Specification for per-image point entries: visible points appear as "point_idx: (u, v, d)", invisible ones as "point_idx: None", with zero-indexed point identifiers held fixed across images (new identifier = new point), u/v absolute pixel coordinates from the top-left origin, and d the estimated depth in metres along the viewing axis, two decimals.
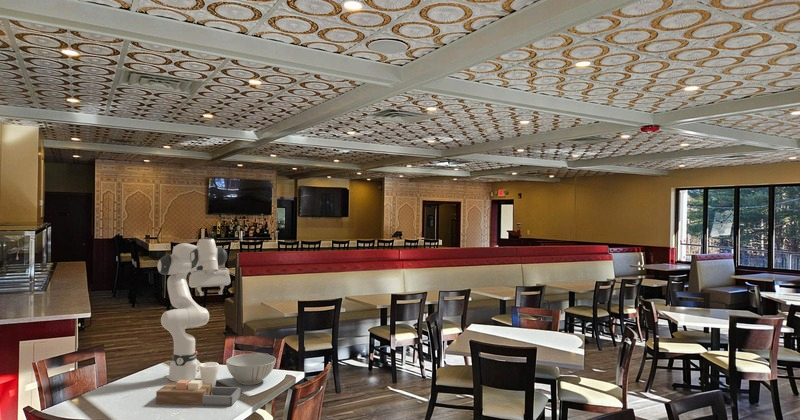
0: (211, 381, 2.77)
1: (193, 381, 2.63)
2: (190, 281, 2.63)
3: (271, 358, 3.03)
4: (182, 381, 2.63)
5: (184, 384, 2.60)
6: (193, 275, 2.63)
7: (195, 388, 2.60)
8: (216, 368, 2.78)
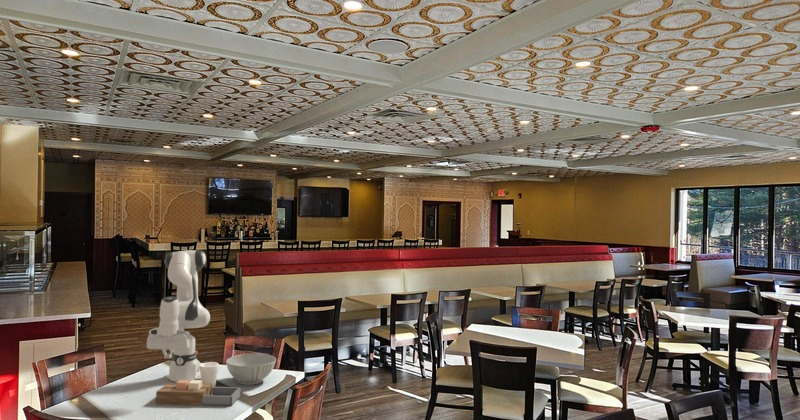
0: (211, 381, 2.77)
1: (193, 381, 2.63)
2: None
3: (271, 358, 3.03)
4: (182, 381, 2.63)
5: (184, 384, 2.60)
6: (148, 338, 2.61)
7: (195, 388, 2.60)
8: (216, 368, 2.78)
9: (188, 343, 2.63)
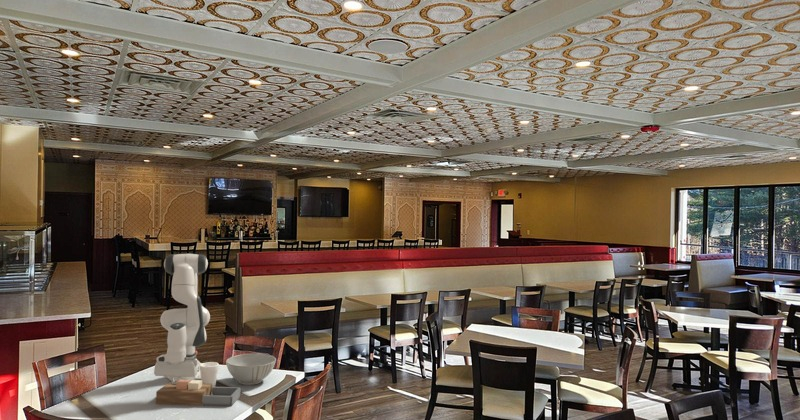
0: (211, 381, 2.77)
1: (193, 381, 2.63)
2: None
3: (271, 358, 3.03)
4: (182, 381, 2.63)
5: (184, 384, 2.60)
6: (156, 365, 2.61)
7: (195, 388, 2.60)
8: (216, 368, 2.78)
9: (195, 370, 2.63)
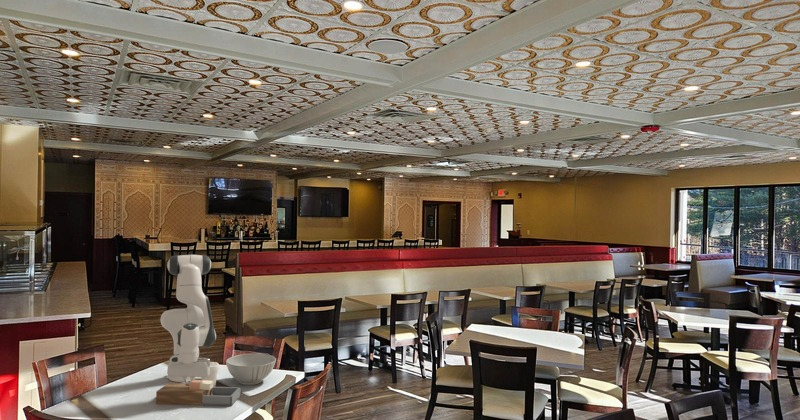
0: None
1: (205, 381, 2.63)
2: None
3: (271, 358, 3.03)
4: (195, 381, 2.63)
5: (197, 384, 2.60)
6: (169, 365, 2.61)
7: (206, 388, 2.60)
8: (216, 368, 2.78)
9: (208, 370, 2.63)
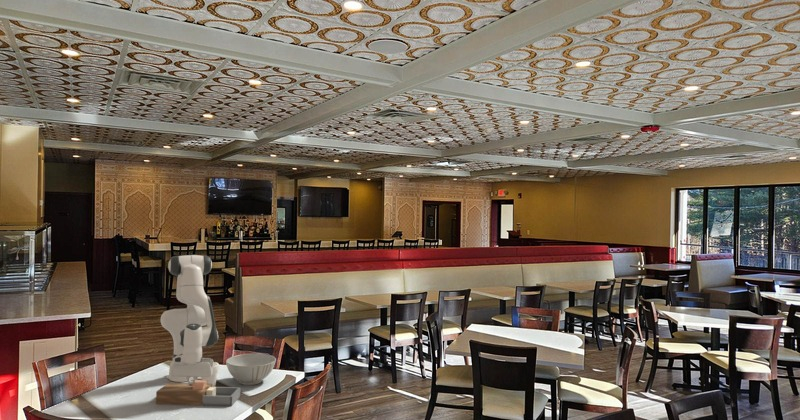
0: (211, 381, 2.77)
1: (214, 391, 2.63)
2: None
3: (271, 358, 3.03)
4: (199, 381, 2.63)
5: (201, 384, 2.60)
6: (172, 366, 2.61)
7: None
8: (216, 368, 2.78)
9: (212, 370, 2.63)
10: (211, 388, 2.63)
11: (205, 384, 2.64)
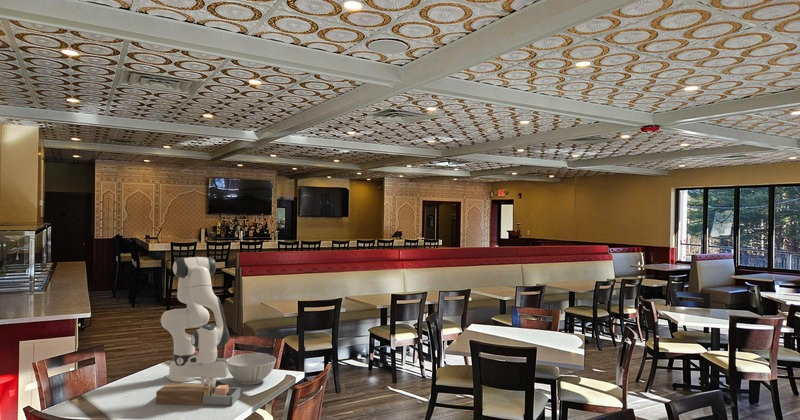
0: (211, 381, 2.77)
1: None
2: None
3: (271, 358, 3.03)
4: (221, 386, 2.63)
5: (223, 389, 2.60)
6: (187, 366, 2.61)
7: (215, 395, 2.60)
8: None
9: (227, 371, 2.63)
10: (224, 395, 2.63)
11: (227, 389, 2.64)
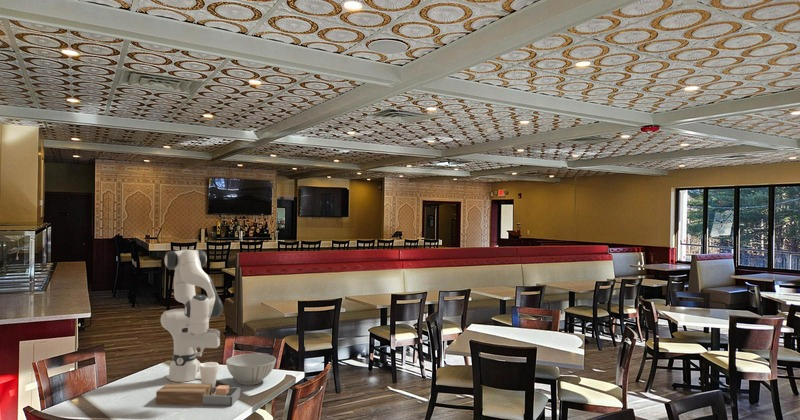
0: (211, 381, 2.77)
1: None
2: None
3: (271, 358, 3.03)
4: (221, 387, 2.63)
5: (224, 390, 2.60)
6: (179, 336, 2.61)
7: (215, 395, 2.60)
8: (216, 368, 2.78)
9: (218, 341, 2.63)
10: (224, 395, 2.63)
11: (228, 389, 2.64)
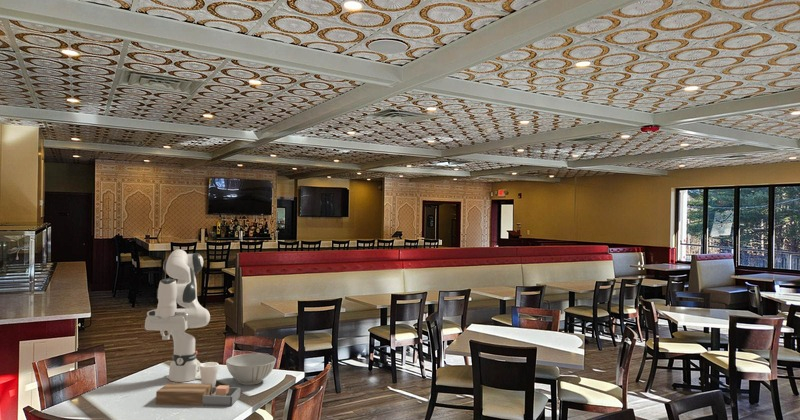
0: (211, 381, 2.77)
1: None
2: None
3: (271, 358, 3.03)
4: (221, 387, 2.63)
5: (224, 390, 2.60)
6: (146, 319, 2.62)
7: (215, 395, 2.60)
8: (216, 368, 2.78)
9: (186, 325, 2.65)
10: (224, 395, 2.63)
11: (228, 389, 2.64)
